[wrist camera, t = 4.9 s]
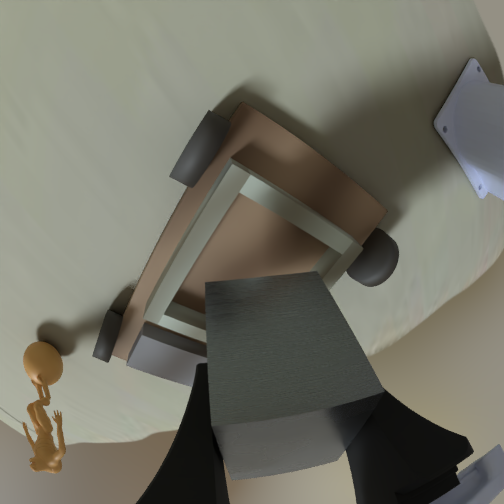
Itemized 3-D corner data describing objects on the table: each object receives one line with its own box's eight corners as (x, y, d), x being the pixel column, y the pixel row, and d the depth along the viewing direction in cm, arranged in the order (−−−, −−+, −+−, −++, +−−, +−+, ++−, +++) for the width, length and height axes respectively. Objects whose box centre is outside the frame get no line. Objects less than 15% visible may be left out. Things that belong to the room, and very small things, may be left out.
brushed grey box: (317, 270, 11) (385, 391, 6) (303, 363, 14) (336, 460, 9) (204, 282, 11) (211, 426, 6) (219, 374, 14) (231, 480, 9)
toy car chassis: (390, 214, 18) (420, 238, 15) (236, 385, 25) (241, 417, 22) (221, 90, 13) (225, 86, 10) (97, 338, 20) (87, 373, 17)
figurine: (52, 316, 18) (4, 446, 8) (104, 359, 21) (82, 485, 11) (19, 347, 19) (-17, 447, 9) (63, 382, 22) (41, 480, 12)
